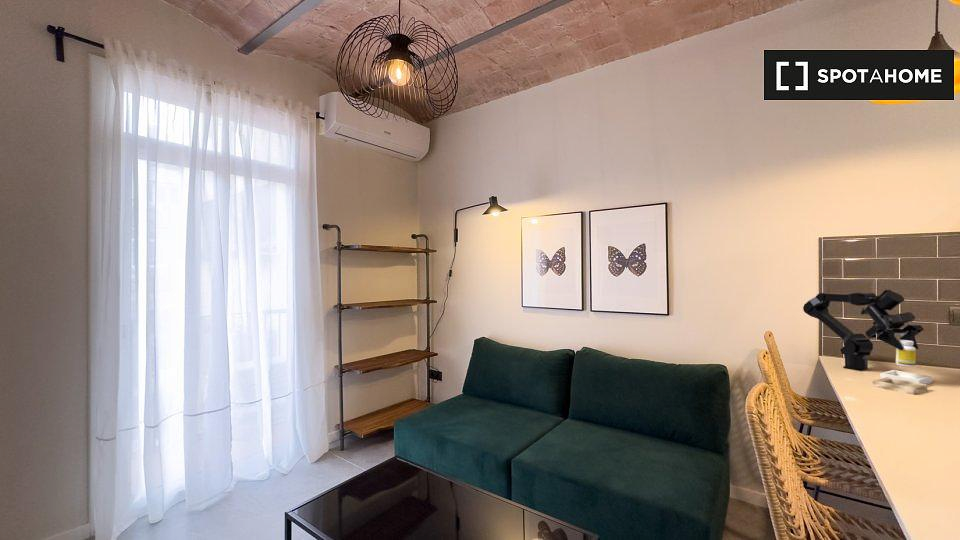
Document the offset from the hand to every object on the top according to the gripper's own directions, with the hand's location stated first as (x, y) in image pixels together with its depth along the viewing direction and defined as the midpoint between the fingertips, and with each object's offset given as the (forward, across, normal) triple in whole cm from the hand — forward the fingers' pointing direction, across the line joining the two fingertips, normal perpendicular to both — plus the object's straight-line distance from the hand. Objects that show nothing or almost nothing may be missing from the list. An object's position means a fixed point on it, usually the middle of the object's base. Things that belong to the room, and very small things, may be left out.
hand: (909, 349), depth 152 cm
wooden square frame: (+14, -10, +5) cm, 18 cm away
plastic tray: (+8, +1, +11) cm, 14 cm away
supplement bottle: (+4, 0, +6) cm, 7 cm away
